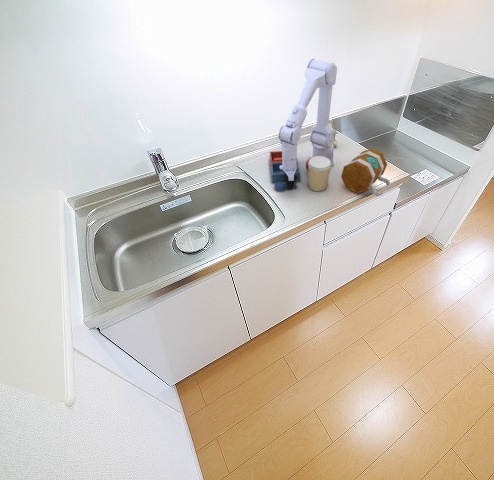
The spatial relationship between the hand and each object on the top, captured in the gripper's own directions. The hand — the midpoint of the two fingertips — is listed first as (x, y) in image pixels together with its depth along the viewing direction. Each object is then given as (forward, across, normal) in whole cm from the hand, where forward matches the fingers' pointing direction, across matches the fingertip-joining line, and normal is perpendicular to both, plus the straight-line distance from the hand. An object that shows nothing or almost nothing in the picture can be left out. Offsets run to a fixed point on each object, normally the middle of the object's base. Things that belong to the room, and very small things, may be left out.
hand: (289, 184), depth 118 cm
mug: (-4, +8, +28) cm, 30 cm away
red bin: (+2, -18, -1) cm, 19 cm away
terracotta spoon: (+1, -18, -1) cm, 19 cm away
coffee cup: (+2, 0, +12) cm, 13 cm away
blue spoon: (+2, 0, -2) cm, 2 cm away
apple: (+2, -10, +12) cm, 16 cm away
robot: (+2, -34, +23) cm, 42 cm away
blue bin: (+2, -9, -1) cm, 9 cm away
